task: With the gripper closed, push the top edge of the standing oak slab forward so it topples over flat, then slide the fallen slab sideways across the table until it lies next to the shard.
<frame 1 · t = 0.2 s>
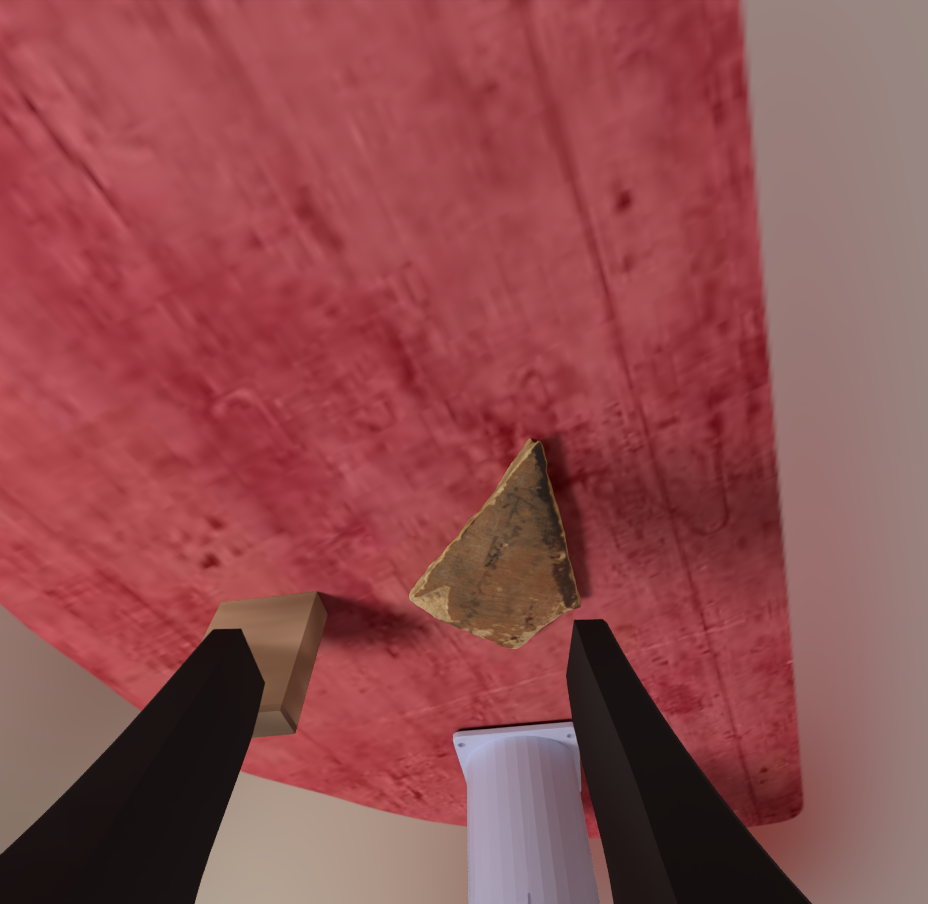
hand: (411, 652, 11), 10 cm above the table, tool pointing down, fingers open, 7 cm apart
shard: (481, 542, 24), on the table
oak slab: (275, 608, 25), on the table
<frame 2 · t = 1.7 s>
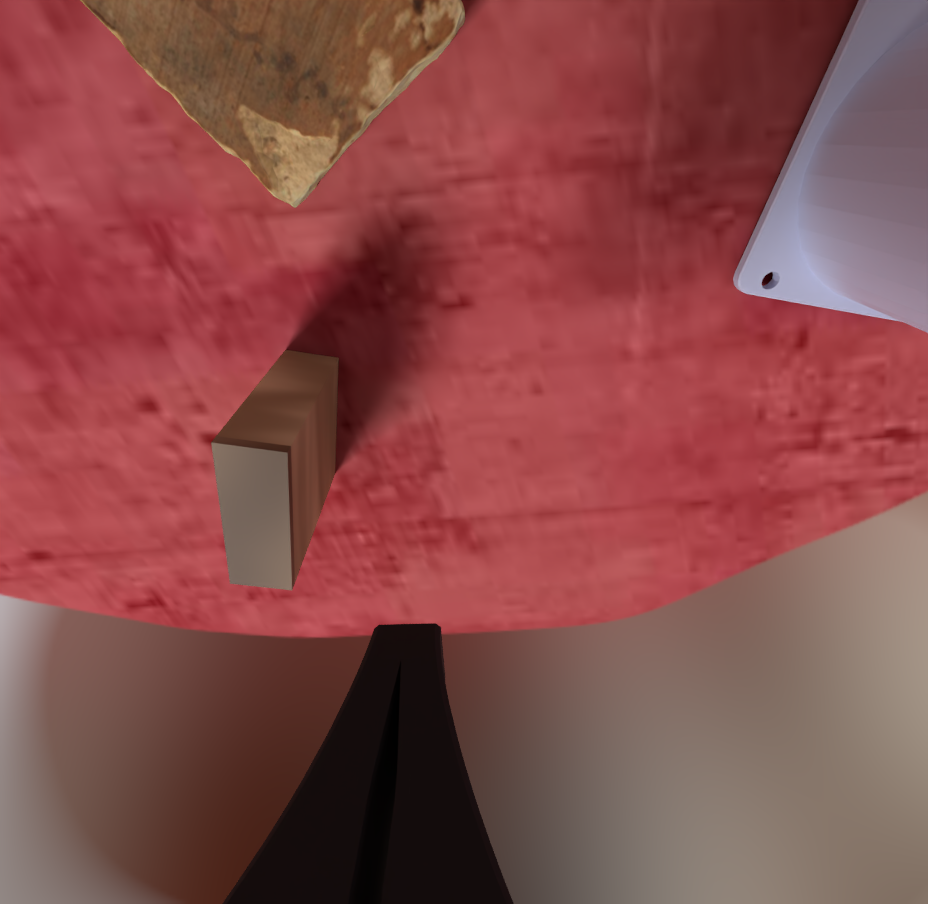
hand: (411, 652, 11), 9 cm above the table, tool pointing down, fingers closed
shard: (230, 24, 13), on the table
oak slab: (312, 416, 18), on the table
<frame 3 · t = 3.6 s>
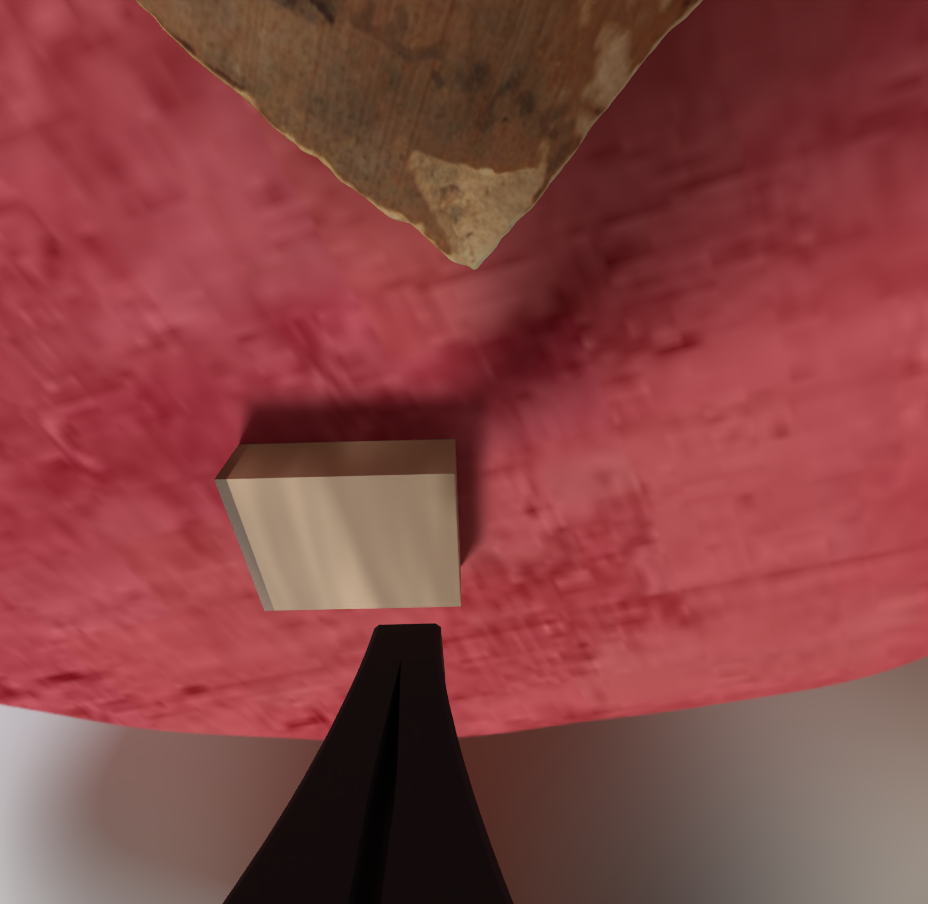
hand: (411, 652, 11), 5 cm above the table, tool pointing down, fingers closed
shard: (372, 49, 9), on the table
oak slab: (458, 524, 14), point 1 cm above the table, tilted 90°
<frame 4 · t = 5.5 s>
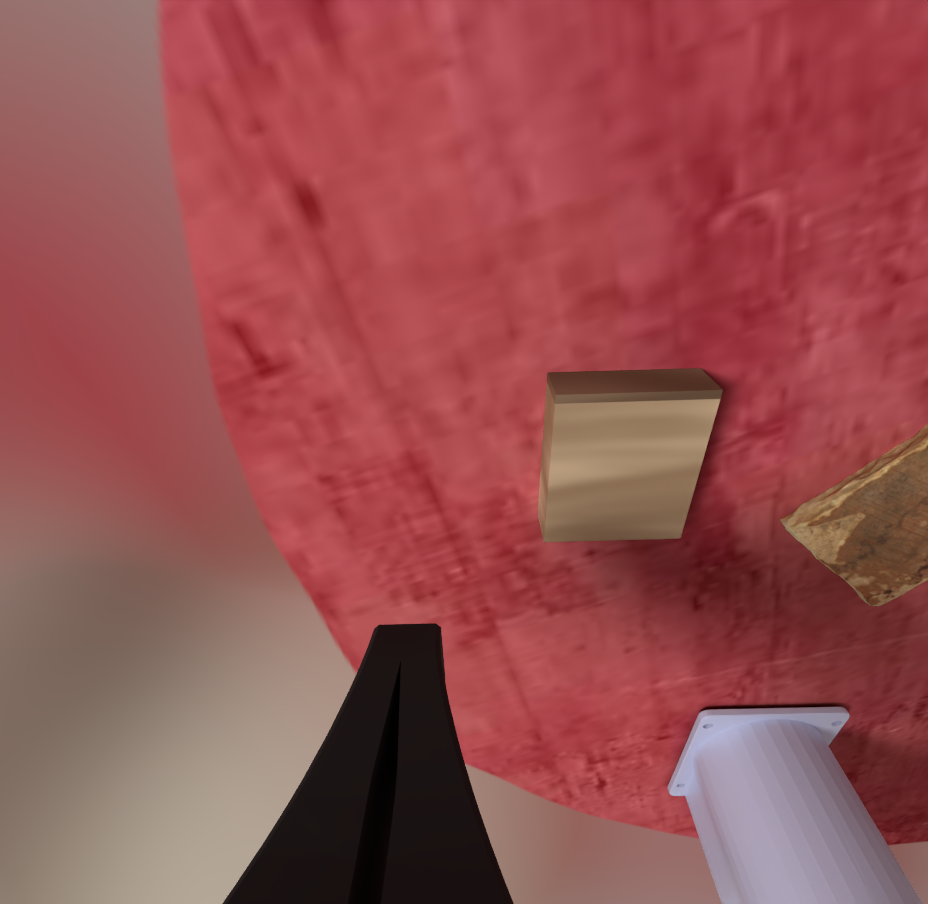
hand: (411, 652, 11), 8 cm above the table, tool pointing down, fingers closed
shard: (883, 467, 19), on the table
oak slab: (605, 523, 19), point 1 cm above the table, tilted 90°
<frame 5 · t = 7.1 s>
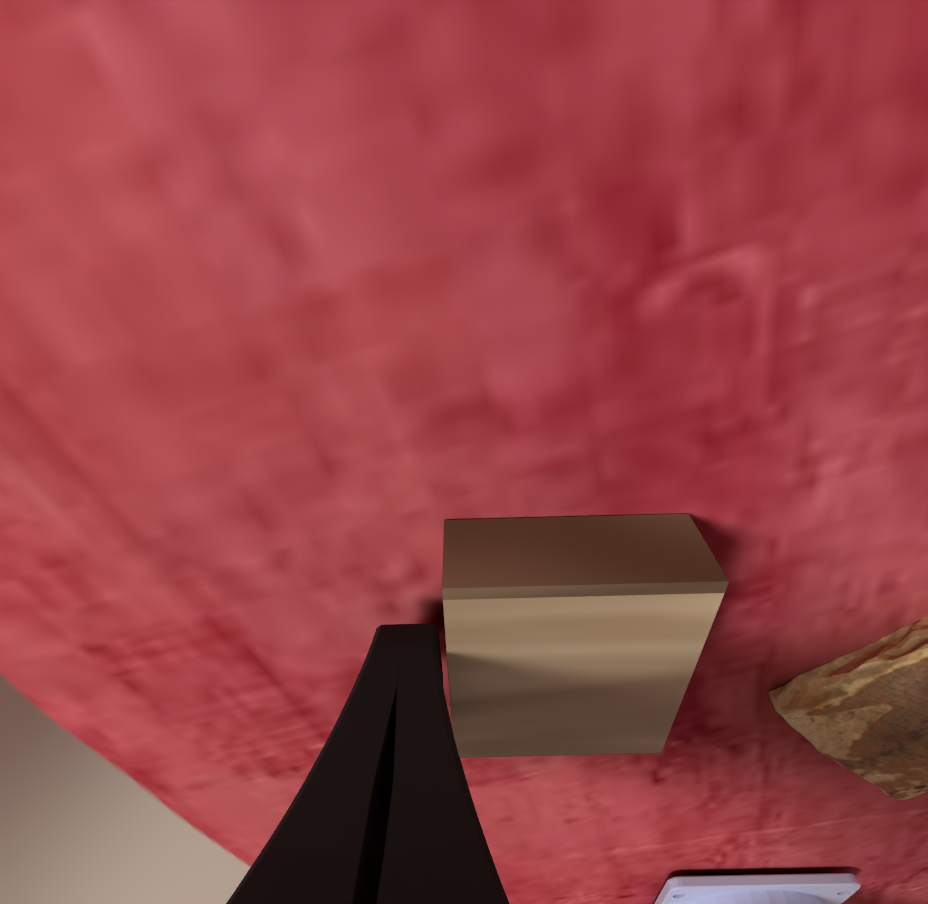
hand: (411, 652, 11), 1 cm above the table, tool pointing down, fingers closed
shard: (918, 622, 13), on the table
oak slab: (551, 717, 13), point 1 cm above the table, tilted 90°, touching gripper
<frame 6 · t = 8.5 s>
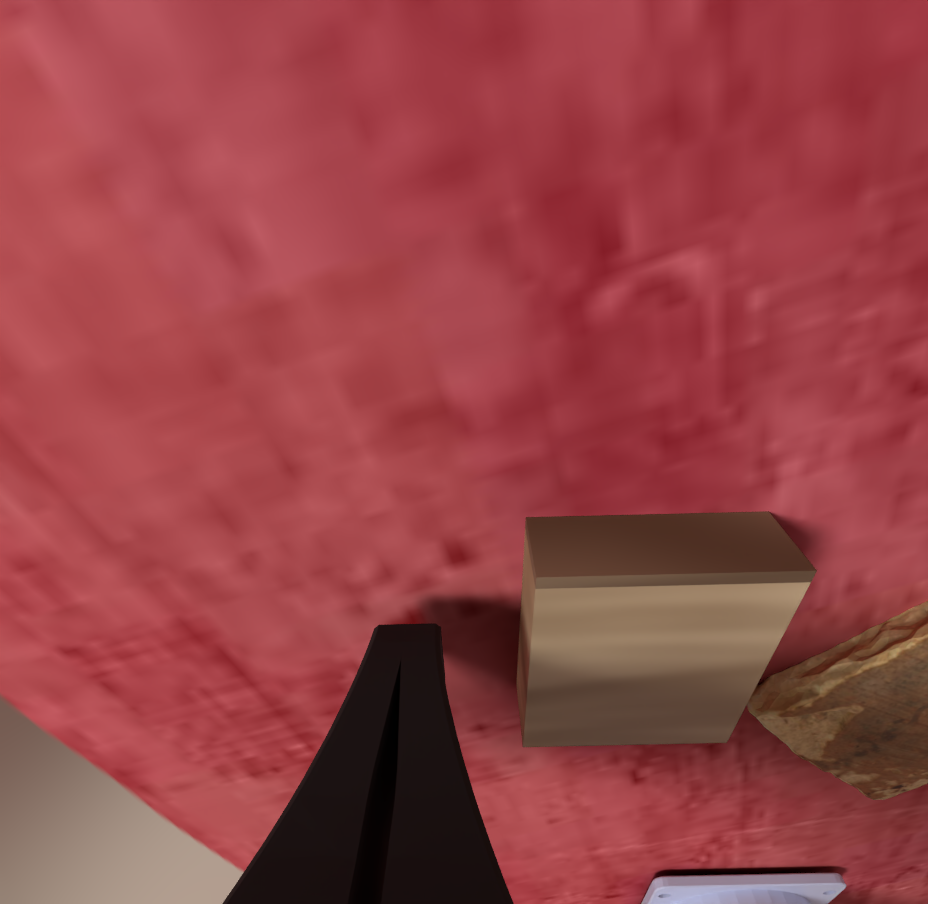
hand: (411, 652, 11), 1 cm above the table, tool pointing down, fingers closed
shard: (890, 622, 13), on the table
oak slab: (614, 708, 13), point 1 cm above the table, tilted 90°
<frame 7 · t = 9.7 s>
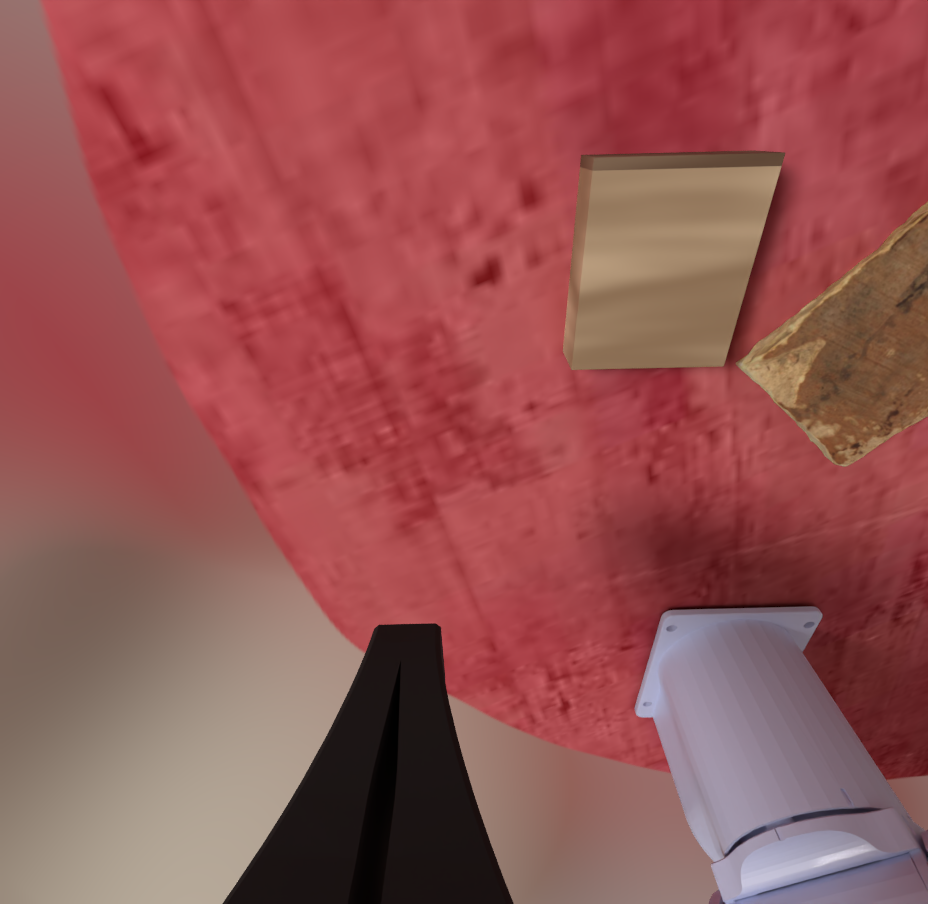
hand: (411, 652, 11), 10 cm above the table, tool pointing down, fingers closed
shard: (848, 299, 17), on the table
oak slab: (639, 357, 17), point 1 cm above the table, tilted 90°
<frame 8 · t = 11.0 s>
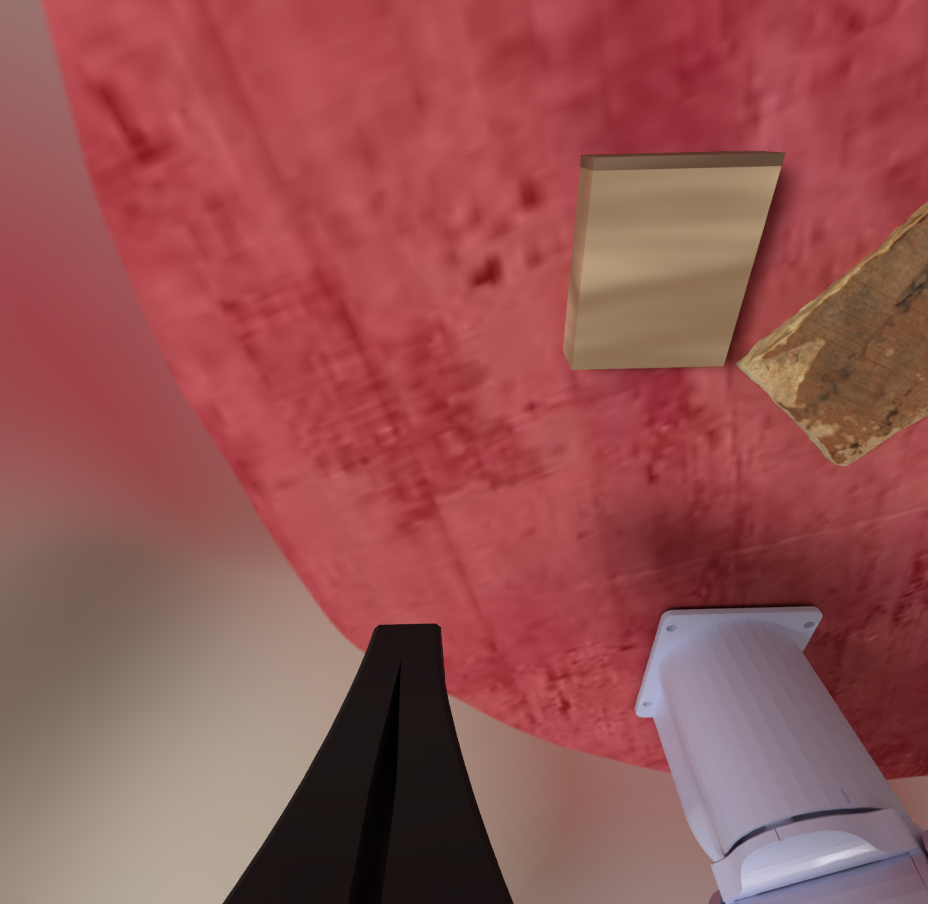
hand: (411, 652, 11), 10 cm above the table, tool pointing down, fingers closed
shard: (848, 299, 17), on the table
oak slab: (639, 357, 17), point 1 cm above the table, tilted 90°
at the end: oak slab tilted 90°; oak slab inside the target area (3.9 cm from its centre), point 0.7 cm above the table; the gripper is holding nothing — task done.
